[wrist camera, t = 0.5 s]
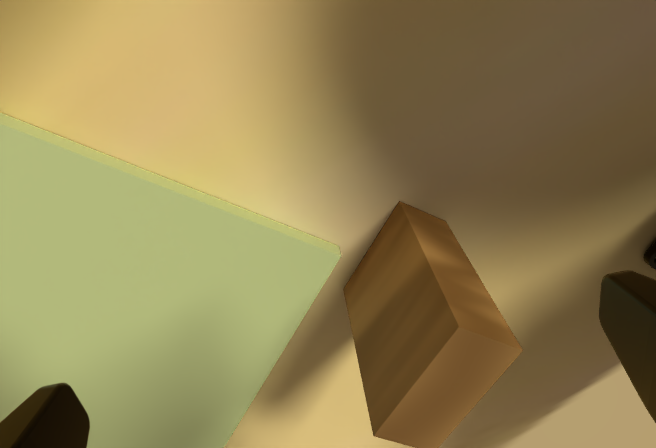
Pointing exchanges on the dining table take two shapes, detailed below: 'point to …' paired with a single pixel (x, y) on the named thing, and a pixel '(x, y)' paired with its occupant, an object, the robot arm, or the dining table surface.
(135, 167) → the felt mat
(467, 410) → the walnut slab
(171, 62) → the dining table surface
